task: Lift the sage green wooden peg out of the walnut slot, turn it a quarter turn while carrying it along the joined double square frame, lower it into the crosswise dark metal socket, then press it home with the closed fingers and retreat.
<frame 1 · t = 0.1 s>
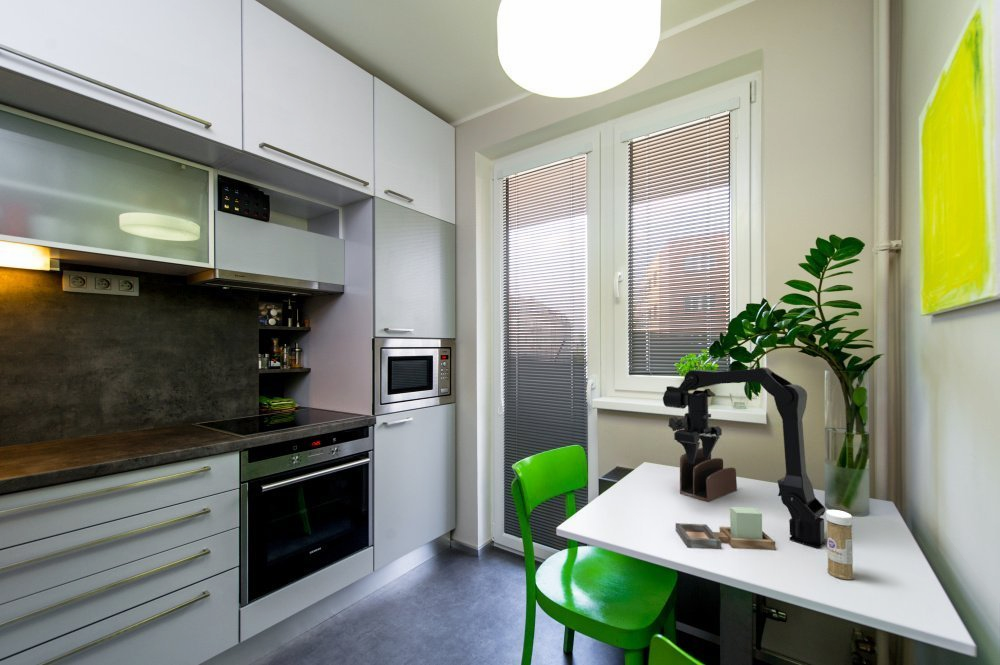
hand: (698, 461, 133), 15 cm above the table, tool pointing down, fingers open, 9 cm apart
letter holder: (708, 493, 149), on the table
sage peg: (746, 542, 110), resting in joined double square frame
joined double square frame: (721, 540, 111), on the table
sprinkles bottle: (840, 576, 94), on the table
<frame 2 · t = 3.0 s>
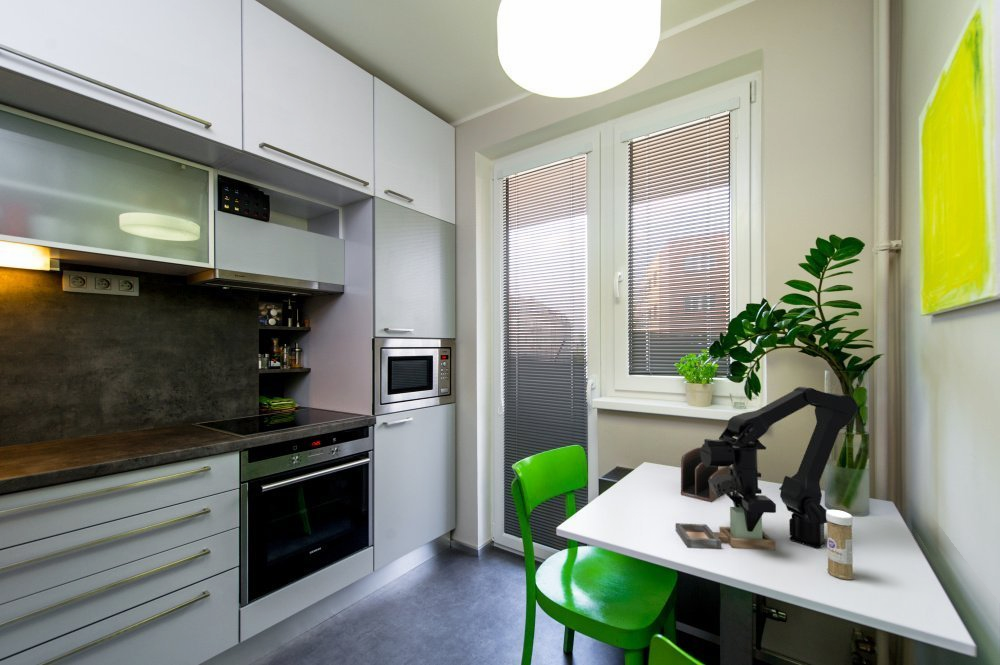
hand: (745, 527, 111), 4 cm above the table, tool pointing down, fingers closed on sage peg, 4 cm apart
sage peg: (746, 541, 110), resting in joined double square frame, touching gripper
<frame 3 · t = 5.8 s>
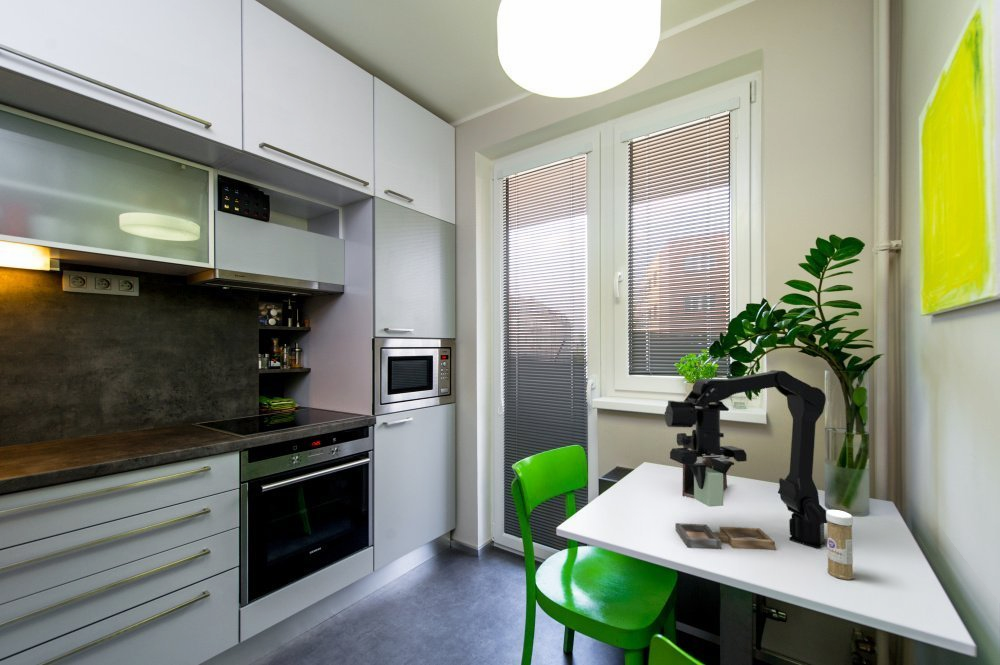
hand: (708, 488, 112), 13 cm above the table, tool pointing down, fingers closed on sage peg, 4 cm apart
sage peg: (708, 501, 112), point 10 cm above the table, touching gripper
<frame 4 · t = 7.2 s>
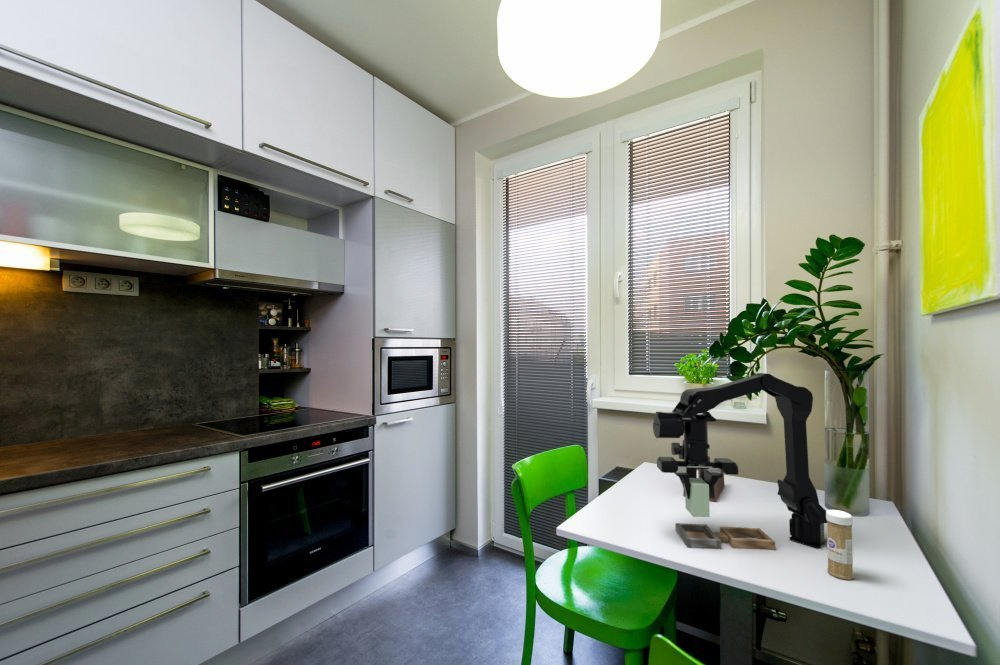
hand: (696, 498, 112), 10 cm above the table, tool pointing down, fingers closed on sage peg, 4 cm apart
sage peg: (697, 512, 112), point 7 cm above the table, touching gripper
when the fingers open (5 cm above the table, at t = 8.7 s): sage peg stays where it is, resting on joined double square frame.
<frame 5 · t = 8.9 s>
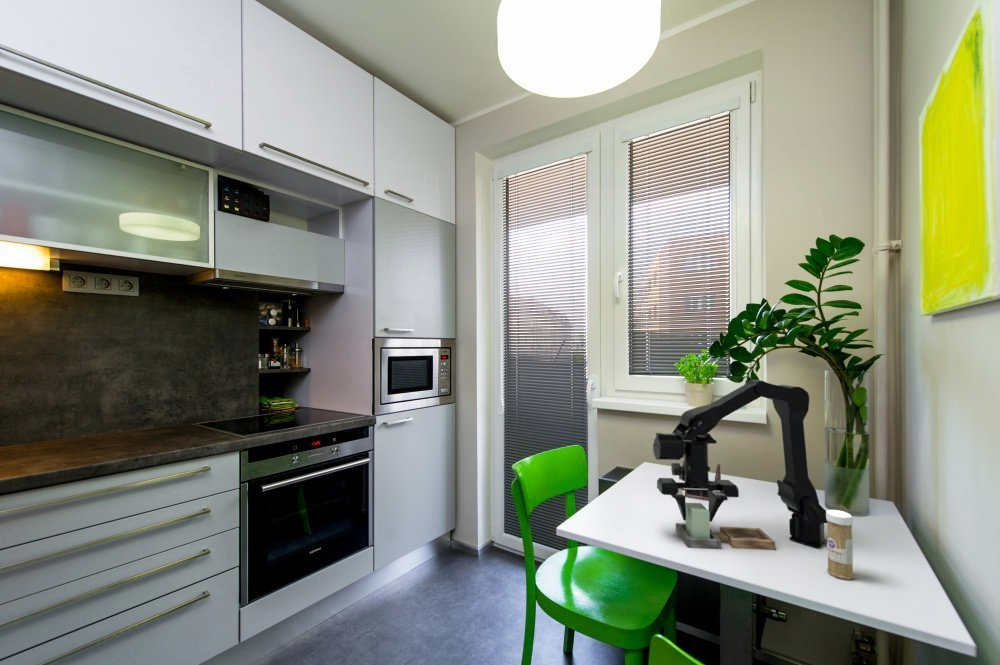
hand: (697, 520, 112), 5 cm above the table, tool pointing down, fingers open, 6 cm apart
sage peg: (697, 538, 112), resting on joined double square frame
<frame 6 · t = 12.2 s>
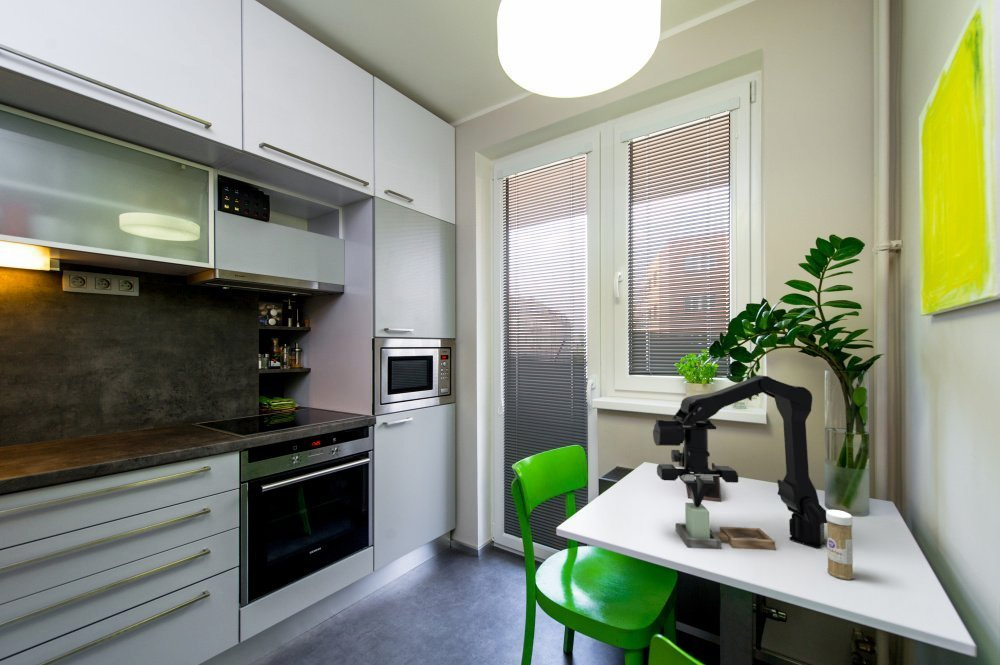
hand: (696, 506, 112), 8 cm above the table, tool pointing down, fingers closed
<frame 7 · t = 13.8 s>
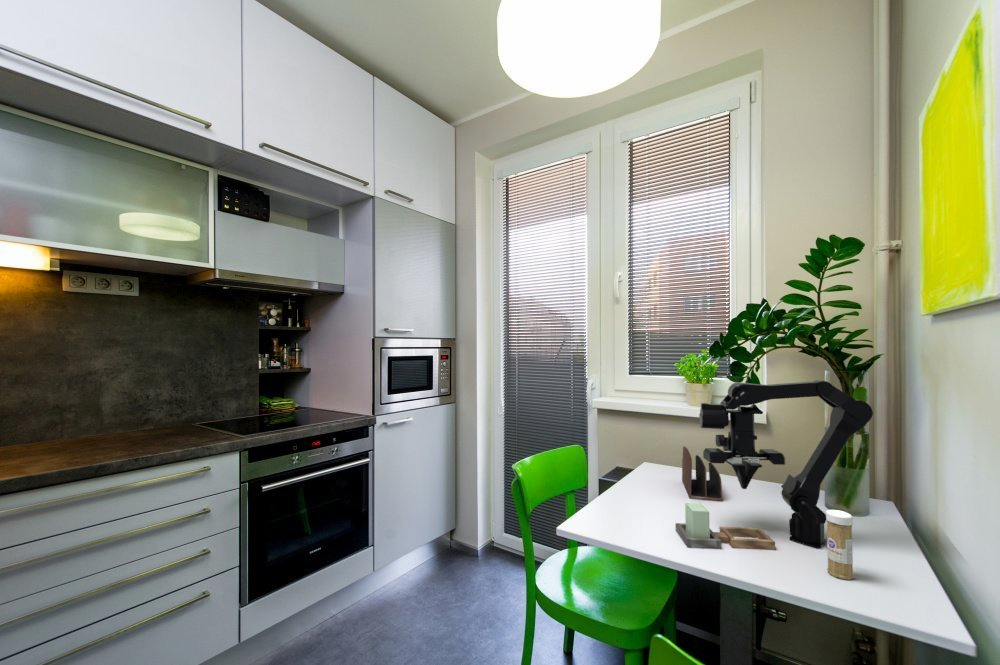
hand: (743, 488, 115), 12 cm above the table, tool pointing down, fingers closed
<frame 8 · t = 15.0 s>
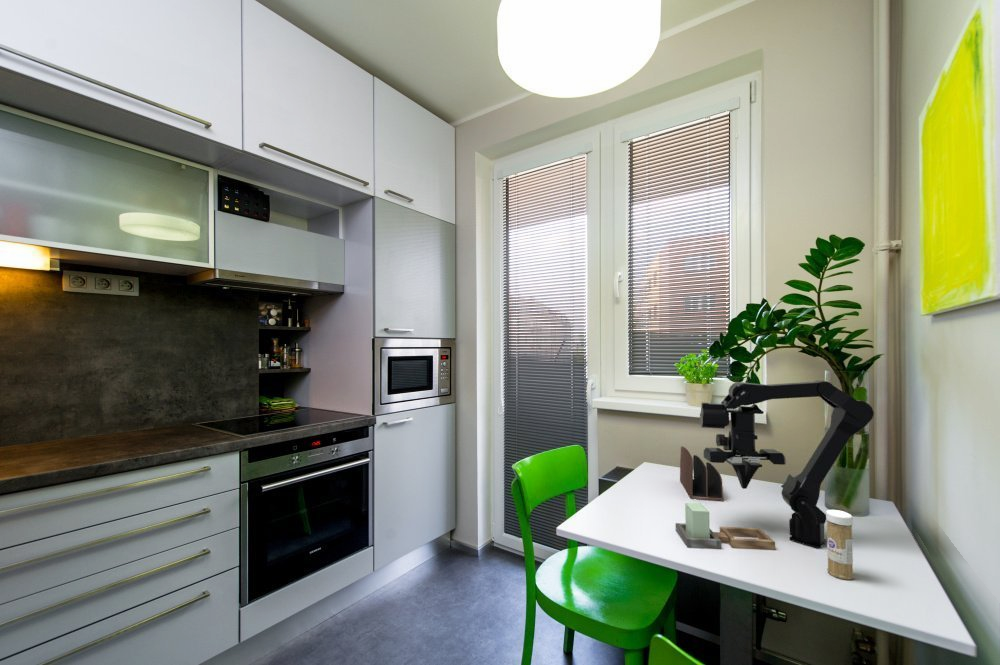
hand: (743, 488, 116), 12 cm above the table, tool pointing down, fingers closed
at the end: sage peg 0.1 cm from the target spot, resting on joined double square frame; sage peg tilted 0°; the gripper is holding nothing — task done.
